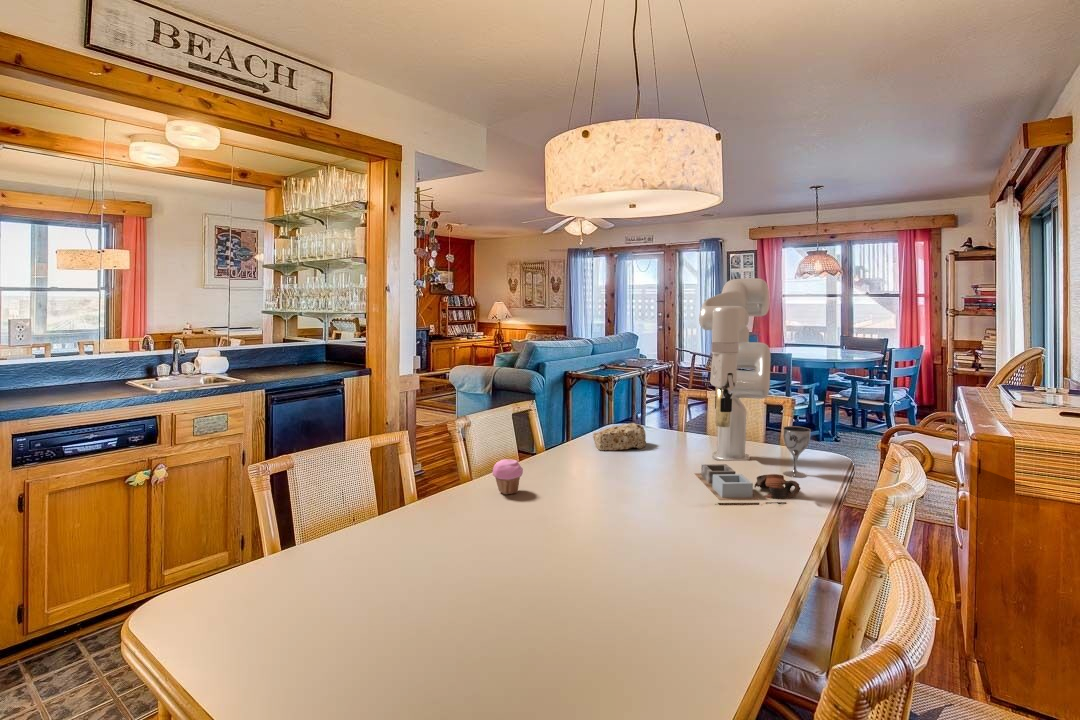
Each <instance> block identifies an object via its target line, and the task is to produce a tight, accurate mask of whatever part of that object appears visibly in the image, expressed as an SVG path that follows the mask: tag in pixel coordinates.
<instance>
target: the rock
mask: <svg viewBox="0 0 1080 720" xmlns="http://www.w3.org/2000/svg"><path fill="white" fill-rule="evenodd" d="M646 437H647V434H646V431H645V428H644V426H643V425H641V424H639V423H634V422H631V423H627V424H625V423H623V424H621V425H620V426H619V425H615V426H612V427H607V428H605V429H603V430H599V431H597V432H594V433H593V434H592V438H593V441H594V444H595V448H597V449H598V451H600V450H601V451H600V452H604V450H605V451H617V450H628V449H632V448H636V449H639V450H640V449H642V448H645V447H646V446H647V441H646ZM597 449H596V450H597ZM602 450H603V451H602Z"/></svg>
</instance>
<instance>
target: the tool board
mask: <svg viewBox="0 0 1080 720" xmlns="http://www.w3.org/2000/svg"><path fill="white" fill-rule="evenodd" d="M700 468H701V472H700V473H699V472H698V473H696V472H695V473H694V475H695V476H696V477H697V479H699V481H701V483H703V484H704V485H705V486H706V488H707V489H708V490H709V491H710V492H711V493H712V494H713V495H714V496H715V497H716V498H717V499H718V500H719V501H760V498H759V497H757V496H756V495H755V494H754V493H753V494H752V498H722V497H721V496H720V495H719V494H718V493H717V492H716V491H715V490H714V489H713V488H712V484H713V474H737V473H736V471H735V470H734V469H733V468H732V467H730V466H729V465H728V464H724V463H723V464H717V463H716V464H701V467H700ZM717 505H719V506H759V505H760V502H717Z"/></svg>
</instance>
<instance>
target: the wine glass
mask: <svg viewBox="0 0 1080 720" xmlns="http://www.w3.org/2000/svg"><path fill="white" fill-rule="evenodd" d="M782 433H783V434H782V438H783V439H782V440H783V443H784V446H785V447H786V449H787V450H788V451H789V452H790V453H791V455H792V458H793V470H785V471H783V472H782V475H783V476H785V477H790V478H798V479H803V478H806V477H808V475H807V474H806V473H804V472H803V471H802V472H801V471H798V470H797V464H798V459H799V456H800V455H801V454H802V453H803V452H804V451H805V450H806V449H807V448H808V446H809V443H810V440H811V428H808V427H804V426H796V425H795V426H794V425H786V426H783V428H782Z"/></svg>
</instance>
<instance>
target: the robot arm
mask: <svg viewBox="0 0 1080 720" xmlns="http://www.w3.org/2000/svg"><path fill="white" fill-rule="evenodd" d="M769 290H770V289H769V287H768V283H767V282H766V281H765V280H764V279H763V278H757V277H755V278H734V279H730V280H728V281H727V282H726V283H725V284H724V285H723V288H722V291H721V293H718V294H715V295H714V296H711V297H709V298H707V299H706V300H704V302H703V303H702V306H701V308H700V311H699V314H698V316H699V317H698V324H699V325H700V328H702V329H703V330H705V331H711V354H712V358H711V366H710V379H709V382H710V384H711V385H712V386H713V387H714V388H715V392H714V395H715V400H714V408H715V410H716V393H717V387H718V388H722V398H721V399H720V411H721V412H730V427H718V426H717V437H716V438H717V441H716V442H717V443H716V445H717V446H716V451H714V452H712V455H711V457H712V458H713V459H714V460H716V461H719V462H735V461H736V462H746V461H747V462H748V461H750V459H751V458H750V455H749V454H747V453H746V441H747V439H746V438H747V436H746V435H747V409H746V406H745V405H744V404H743V402H742V401H741V400H740V399H757V400H758V399H761V400H762V399H766V398H767V396H768V395H769V393H770V388H771V387H770V385H771V383H770V382H771V349H770V347H769V345H768V344H767V343H765V342H757V341H756V342H755V341H754V342H753V341H751V342H750V341H749V339H750V338H749V337H750V330H749V328H748V327H747V326H748V324H749V321H750V317H763V316H766V315H767V314H768V312H769V310H770V309H769V308H770V291H769ZM738 369H739V370H738ZM743 369H744V370H743ZM724 386H728V388H724ZM725 390H726V391H725Z"/></svg>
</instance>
